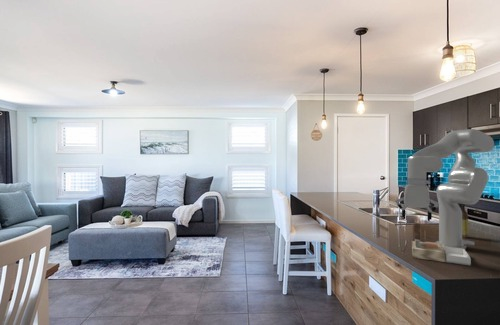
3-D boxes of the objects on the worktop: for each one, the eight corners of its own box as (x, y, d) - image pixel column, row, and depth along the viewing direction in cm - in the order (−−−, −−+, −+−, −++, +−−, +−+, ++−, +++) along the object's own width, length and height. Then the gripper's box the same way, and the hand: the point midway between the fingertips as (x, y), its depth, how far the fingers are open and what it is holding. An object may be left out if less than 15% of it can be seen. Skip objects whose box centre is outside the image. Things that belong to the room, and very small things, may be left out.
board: (441, 252, 130) (441, 244, 130) (445, 262, 118) (445, 252, 118) (411, 249, 136) (411, 240, 136) (412, 257, 124) (412, 248, 124)
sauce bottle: (462, 235, 162) (462, 200, 162) (471, 238, 155) (471, 202, 155) (451, 235, 161) (451, 200, 161) (460, 238, 155) (459, 202, 155)
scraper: (419, 243, 133) (419, 221, 133) (420, 248, 125) (420, 225, 125) (413, 242, 134) (413, 221, 134) (414, 247, 126) (414, 225, 126)
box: (464, 255, 126) (464, 249, 126) (470, 265, 114) (470, 258, 114) (442, 252, 130) (442, 246, 130) (446, 262, 118) (446, 255, 118)
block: (436, 246, 127) (436, 242, 127) (437, 248, 123) (437, 245, 123) (425, 244, 130) (425, 241, 130) (425, 247, 126) (425, 244, 126)
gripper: (438, 183, 128) (437, 220, 128) (395, 181, 137) (395, 216, 136) (440, 184, 122) (439, 223, 121) (395, 182, 130) (394, 219, 130)
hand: (416, 219), depth 129 cm, fingers open, 9 cm apart
